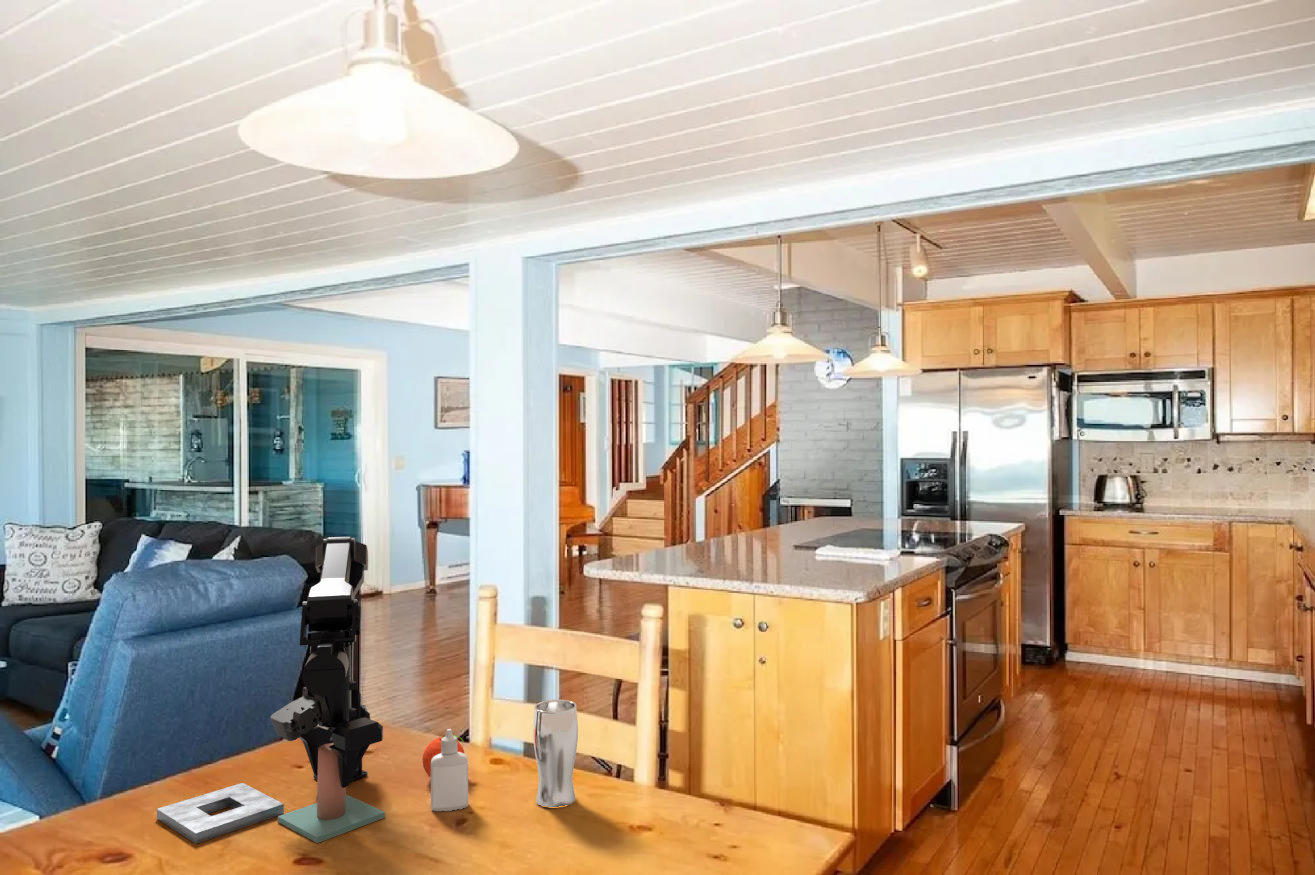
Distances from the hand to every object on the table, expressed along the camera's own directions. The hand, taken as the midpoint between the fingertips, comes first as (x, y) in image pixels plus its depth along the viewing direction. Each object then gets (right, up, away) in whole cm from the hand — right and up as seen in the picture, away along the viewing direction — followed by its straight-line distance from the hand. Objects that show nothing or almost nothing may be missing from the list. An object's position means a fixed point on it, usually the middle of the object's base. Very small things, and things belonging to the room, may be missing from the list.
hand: (331, 780), depth 137 cm
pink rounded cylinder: (0, -5, 0) cm, 5 cm away
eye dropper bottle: (+17, -6, +4) cm, 18 cm away
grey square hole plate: (-17, -6, +1) cm, 18 cm away
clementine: (+13, -6, +16) cm, 22 cm away
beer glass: (+33, -6, +7) cm, 34 cm away
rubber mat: (0, -6, 0) cm, 6 cm away
